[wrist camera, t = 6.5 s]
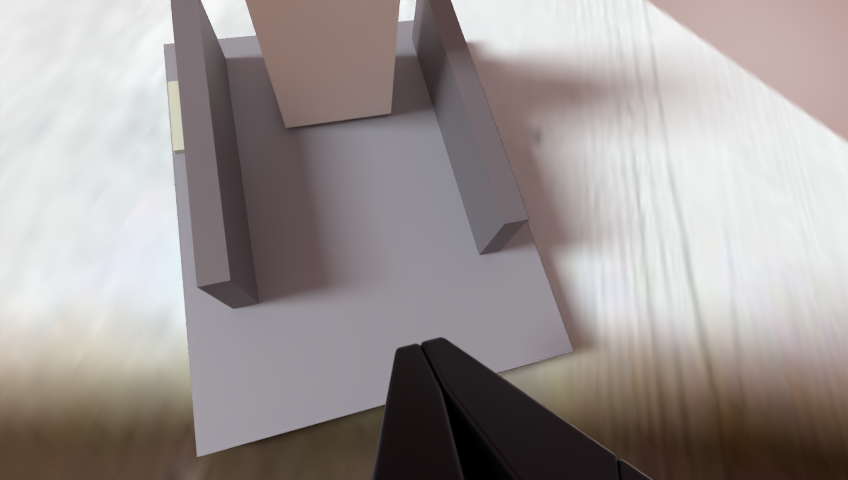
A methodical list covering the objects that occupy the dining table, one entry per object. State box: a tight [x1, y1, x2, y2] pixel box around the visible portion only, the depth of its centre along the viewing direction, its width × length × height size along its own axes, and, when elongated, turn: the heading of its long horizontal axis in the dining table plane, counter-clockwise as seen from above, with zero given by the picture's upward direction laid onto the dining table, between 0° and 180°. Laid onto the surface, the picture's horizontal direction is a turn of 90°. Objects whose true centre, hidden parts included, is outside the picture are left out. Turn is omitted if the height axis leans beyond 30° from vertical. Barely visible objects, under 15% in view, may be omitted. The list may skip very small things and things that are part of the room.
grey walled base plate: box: [164, 0, 573, 457], centre depth 15 cm, size 15×12×4 cm
